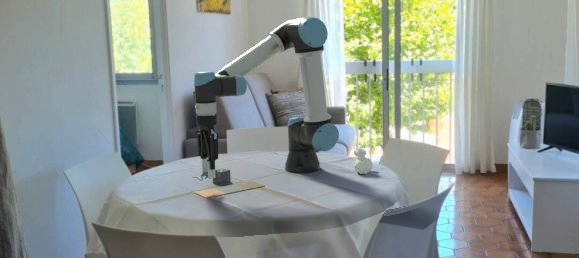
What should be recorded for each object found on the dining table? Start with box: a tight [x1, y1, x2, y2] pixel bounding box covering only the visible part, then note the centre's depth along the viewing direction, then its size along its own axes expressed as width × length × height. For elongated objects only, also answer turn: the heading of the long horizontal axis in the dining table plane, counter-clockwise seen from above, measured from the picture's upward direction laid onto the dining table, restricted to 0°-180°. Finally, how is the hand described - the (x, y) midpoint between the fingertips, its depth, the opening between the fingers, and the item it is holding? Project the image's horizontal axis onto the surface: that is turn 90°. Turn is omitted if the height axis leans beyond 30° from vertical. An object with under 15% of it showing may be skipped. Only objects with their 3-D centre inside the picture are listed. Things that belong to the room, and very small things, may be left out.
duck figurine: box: [353, 147, 373, 175], centre depth 238 cm, size 12×8×11 cm
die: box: [212, 168, 232, 185], centre depth 227 cm, size 5×5×5 cm
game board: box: [193, 180, 266, 199], centre depth 216 cm, size 26×10×1 cm, turn 126°
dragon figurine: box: [192, 168, 220, 181], centre depth 209 cm, size 7×7×8 cm
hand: (208, 176), depth 210 cm, fingers closed on dragon figurine, 4 cm apart
